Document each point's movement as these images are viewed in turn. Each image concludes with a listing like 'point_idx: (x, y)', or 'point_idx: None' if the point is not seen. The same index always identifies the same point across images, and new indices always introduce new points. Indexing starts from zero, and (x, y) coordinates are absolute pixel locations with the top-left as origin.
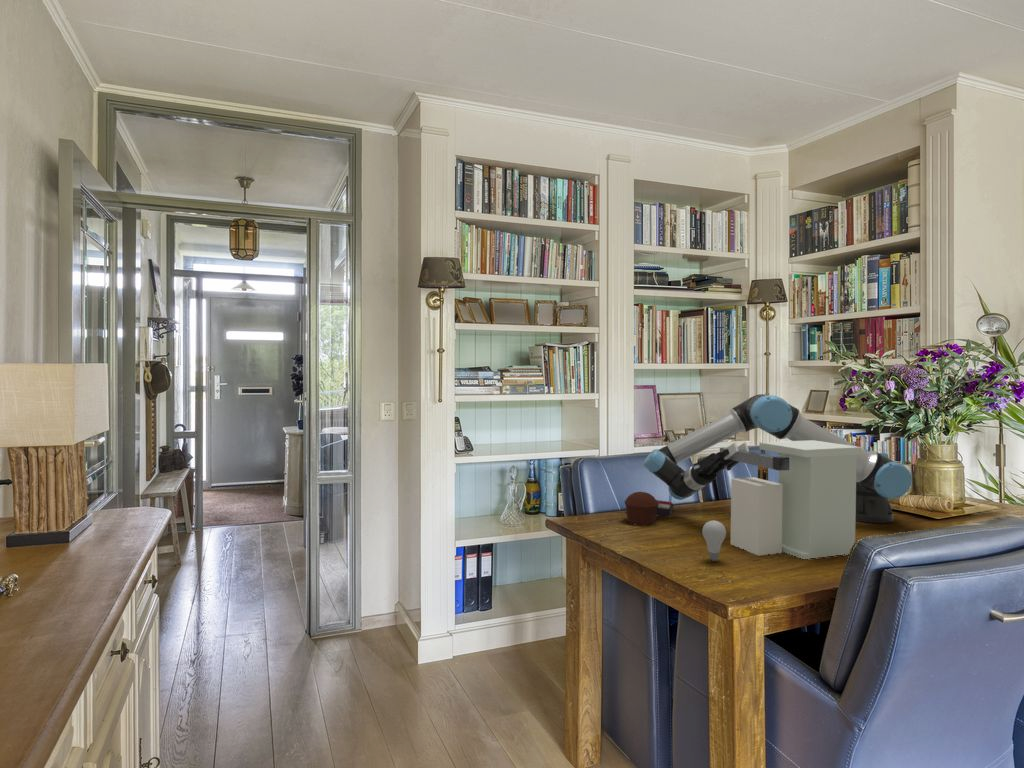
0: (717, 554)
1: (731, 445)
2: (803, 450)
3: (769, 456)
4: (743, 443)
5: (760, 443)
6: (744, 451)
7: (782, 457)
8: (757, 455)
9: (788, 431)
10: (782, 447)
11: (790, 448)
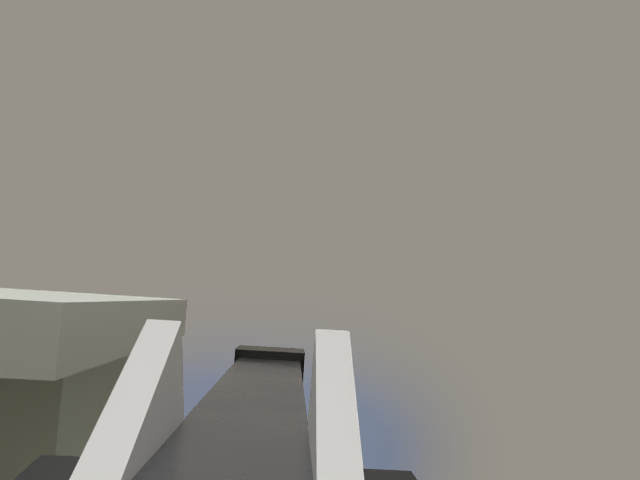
0: None
1: (351, 378)
2: (184, 303)
3: (268, 367)
4: (175, 337)
5: (70, 311)
6: (238, 419)
7: (273, 348)
8: (302, 381)
9: None
10: (150, 308)
11: (167, 305)
